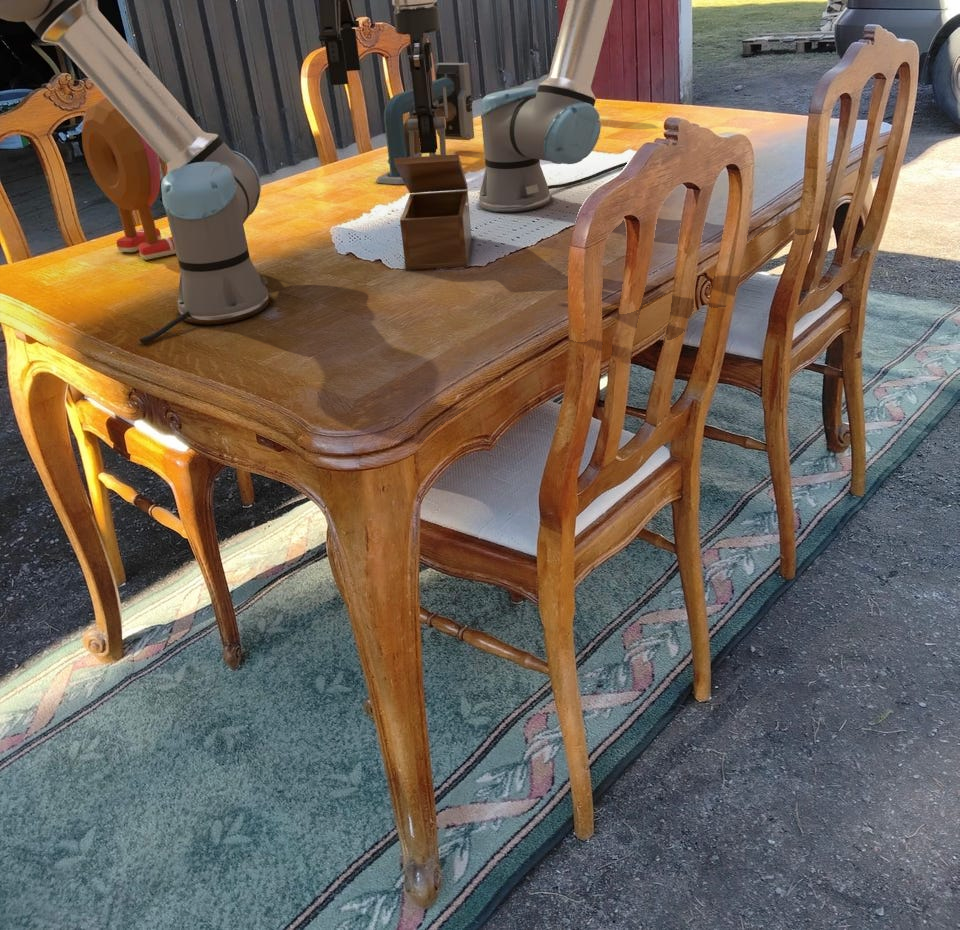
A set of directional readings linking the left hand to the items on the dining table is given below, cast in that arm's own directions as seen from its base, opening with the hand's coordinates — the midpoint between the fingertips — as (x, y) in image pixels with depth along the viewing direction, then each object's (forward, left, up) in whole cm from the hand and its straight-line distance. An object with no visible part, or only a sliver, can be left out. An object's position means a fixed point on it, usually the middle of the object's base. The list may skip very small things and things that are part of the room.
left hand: (346, 77), depth 160 cm
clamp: (+76, +16, -34) cm, 85 cm away
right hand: (+11, -9, -14) cm, 20 cm away
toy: (+8, +52, -34) cm, 63 cm away
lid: (+12, -9, -20) cm, 25 cm away
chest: (+11, -9, -34) cm, 37 cm away
